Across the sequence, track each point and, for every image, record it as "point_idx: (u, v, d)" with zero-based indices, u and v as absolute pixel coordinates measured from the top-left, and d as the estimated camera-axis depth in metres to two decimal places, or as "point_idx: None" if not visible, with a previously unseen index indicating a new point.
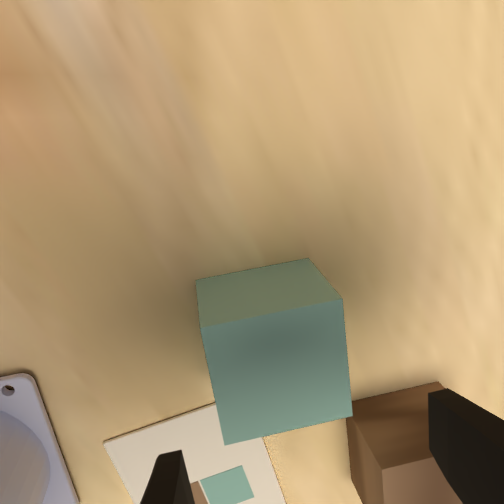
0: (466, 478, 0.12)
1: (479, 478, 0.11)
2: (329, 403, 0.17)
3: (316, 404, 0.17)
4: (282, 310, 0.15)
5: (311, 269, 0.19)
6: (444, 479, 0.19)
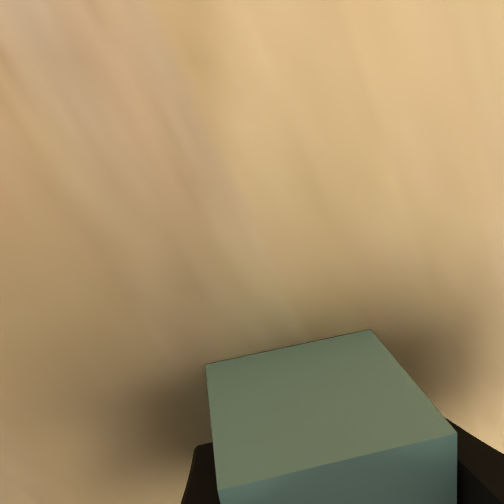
0: None
1: None
2: None
3: None
4: (356, 455, 0.09)
5: (383, 356, 0.12)
6: None
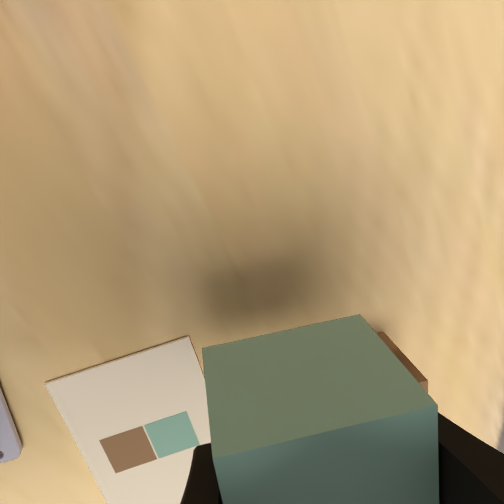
0: None
1: (440, 488, 0.11)
2: None
3: None
4: (343, 426, 0.10)
5: (371, 338, 0.13)
6: None
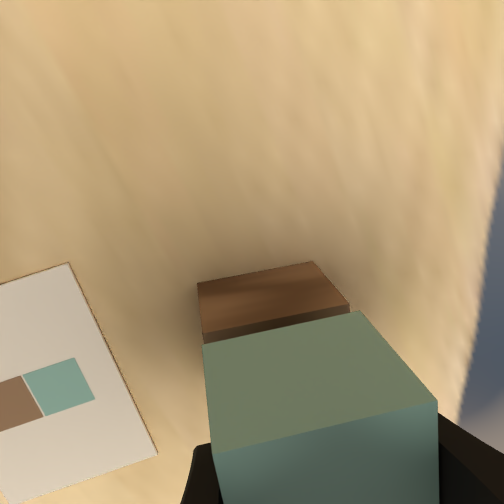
0: None
1: (439, 488, 0.11)
2: None
3: None
4: (342, 421, 0.10)
5: (371, 334, 0.13)
6: None
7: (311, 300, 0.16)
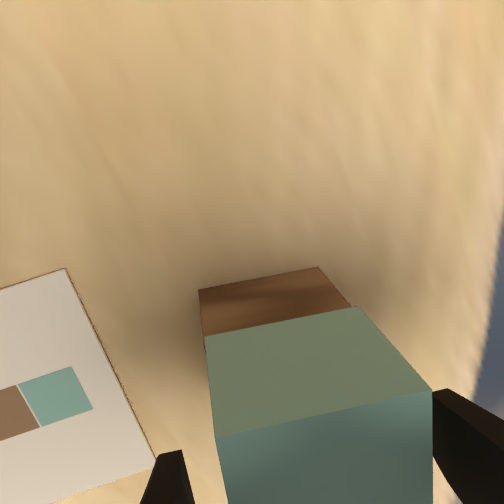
0: (466, 478, 0.12)
1: (479, 478, 0.11)
2: None
3: None
4: (341, 409, 0.10)
5: (369, 328, 0.13)
6: None
7: (317, 310, 0.15)
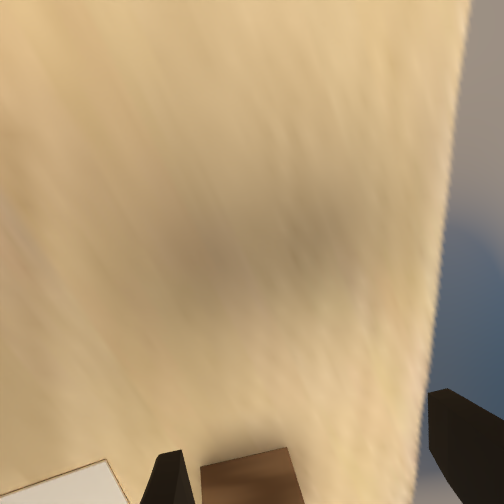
0: (466, 478, 0.12)
1: (479, 478, 0.11)
2: None
3: None
4: None
5: None
6: None
7: None
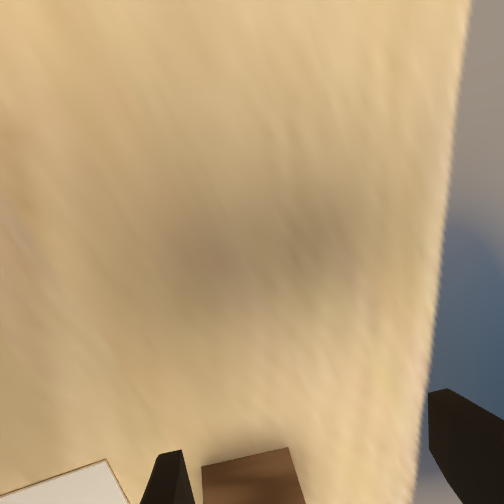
0: (466, 478, 0.12)
1: (479, 478, 0.11)
2: None
3: None
4: None
5: None
6: None
7: None
